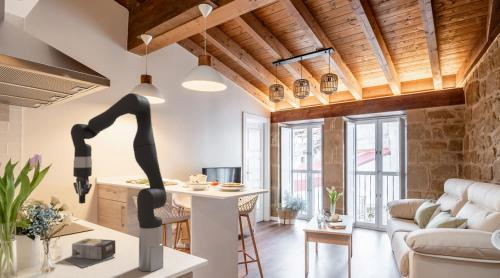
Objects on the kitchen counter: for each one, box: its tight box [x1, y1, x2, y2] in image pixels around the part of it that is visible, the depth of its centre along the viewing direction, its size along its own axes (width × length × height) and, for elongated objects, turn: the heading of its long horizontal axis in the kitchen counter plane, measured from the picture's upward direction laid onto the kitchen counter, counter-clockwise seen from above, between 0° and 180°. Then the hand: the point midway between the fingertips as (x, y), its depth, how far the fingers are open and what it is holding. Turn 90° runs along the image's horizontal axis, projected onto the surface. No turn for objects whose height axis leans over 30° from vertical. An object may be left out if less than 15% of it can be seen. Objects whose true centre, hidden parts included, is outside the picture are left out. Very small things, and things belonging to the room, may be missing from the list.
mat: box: [64, 255, 115, 269], centre depth 133 cm, size 16×14×1 cm
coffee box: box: [71, 237, 116, 260], centre depth 136 cm, size 9×6×16 cm
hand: (82, 203), depth 139 cm, fingers closed
